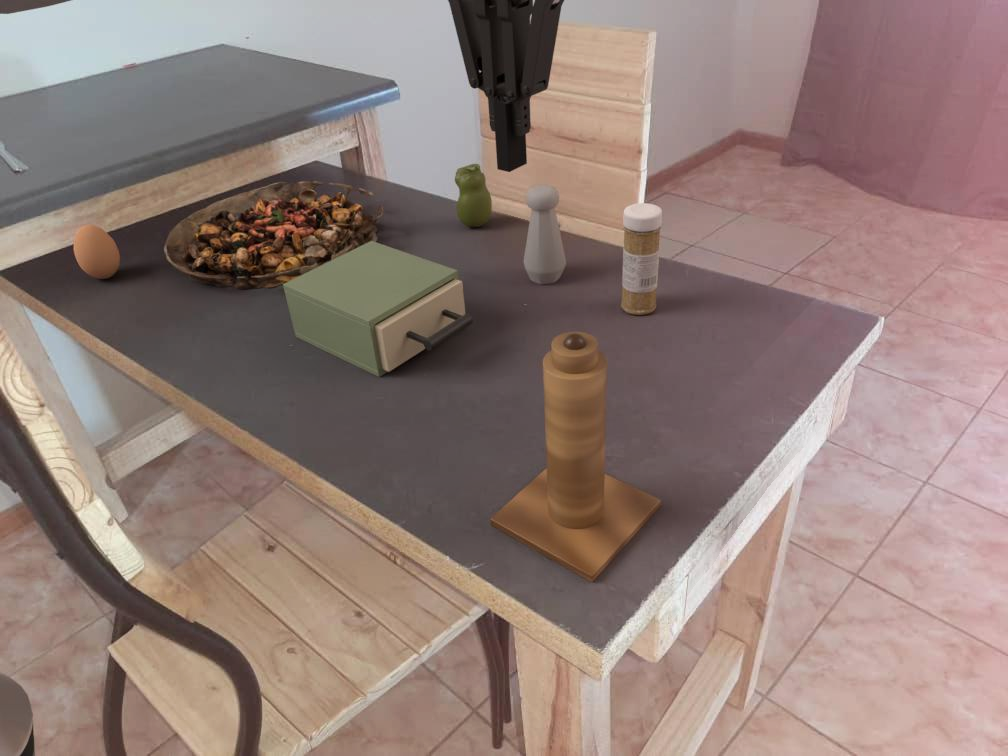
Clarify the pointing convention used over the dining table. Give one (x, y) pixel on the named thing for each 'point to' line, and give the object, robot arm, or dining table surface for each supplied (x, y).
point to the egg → (96, 252)
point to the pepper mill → (575, 429)
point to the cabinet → (359, 299)
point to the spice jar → (640, 257)
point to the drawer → (422, 325)
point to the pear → (473, 196)
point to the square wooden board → (577, 546)
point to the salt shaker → (543, 236)
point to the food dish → (268, 235)
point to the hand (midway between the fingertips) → (512, 166)
